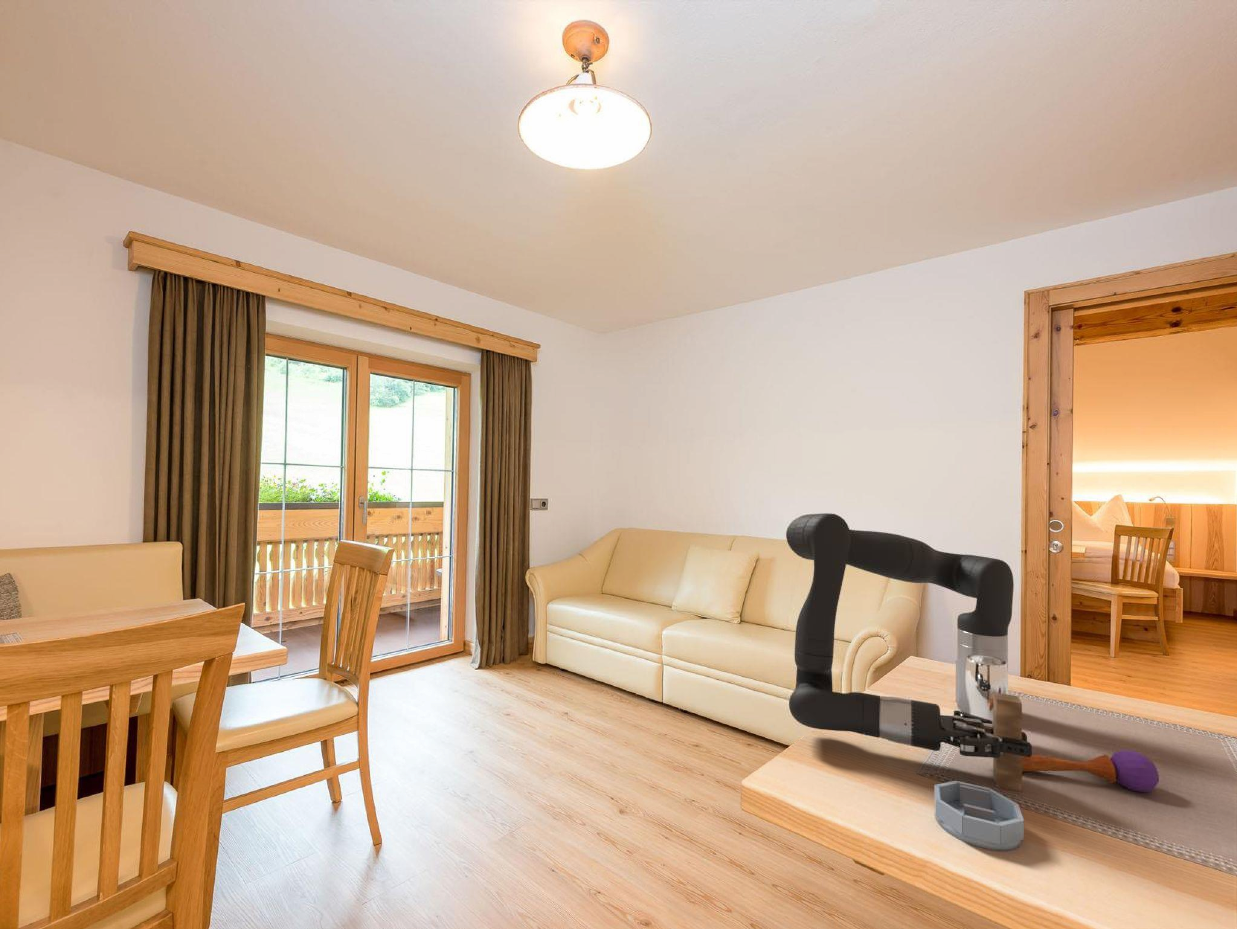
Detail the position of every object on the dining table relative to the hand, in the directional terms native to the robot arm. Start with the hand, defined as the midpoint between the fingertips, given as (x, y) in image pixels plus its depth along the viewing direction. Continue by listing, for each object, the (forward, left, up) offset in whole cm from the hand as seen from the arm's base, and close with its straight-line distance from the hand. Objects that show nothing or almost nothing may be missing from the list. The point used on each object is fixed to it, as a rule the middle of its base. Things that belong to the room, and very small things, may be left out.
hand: (1028, 744), depth 91 cm
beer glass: (-18, +4, -7) cm, 20 cm away
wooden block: (-1, -3, -7) cm, 8 cm away
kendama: (-3, +11, -8) cm, 14 cm away
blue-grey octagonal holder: (+11, -15, -7) cm, 19 cm away
